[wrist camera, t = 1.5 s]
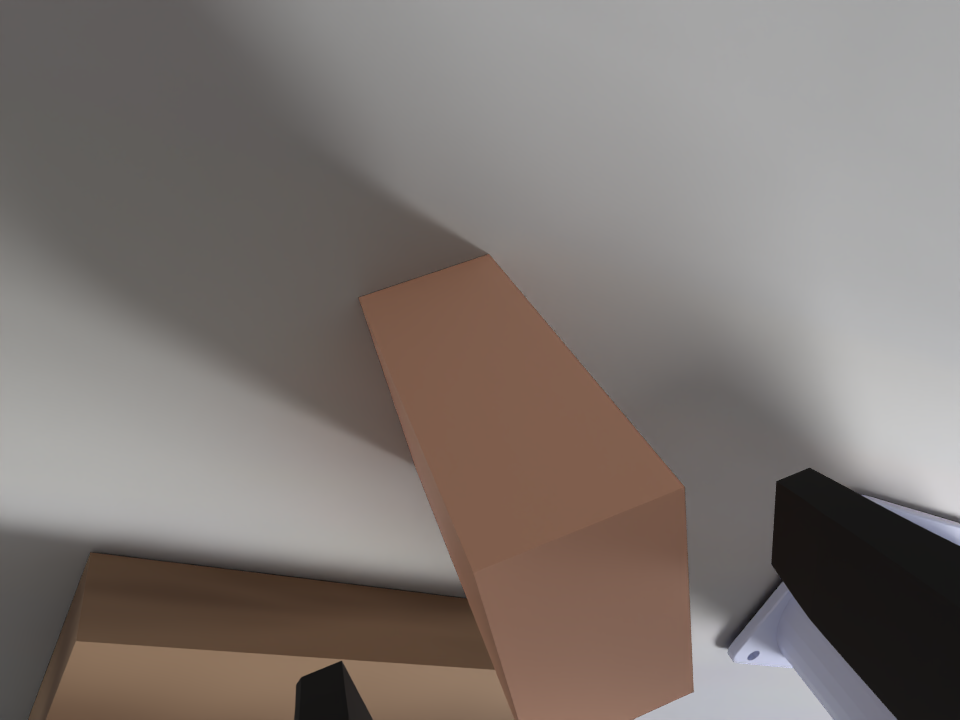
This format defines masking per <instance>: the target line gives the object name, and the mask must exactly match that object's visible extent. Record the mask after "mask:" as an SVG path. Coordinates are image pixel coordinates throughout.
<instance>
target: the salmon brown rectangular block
mask: <svg viewBox="0 0 960 720" xmlns="http://www.w3.org/2000/svg"><path fill="white" fill-rule="evenodd" d="M359 301H360V304H361V306H362V309H363V312H364V315H365V318H366V321H367V324H368V327H369V330H370V333H371V336H372V339H373V342H374V345H375V348H376V351H377V354H378V357H379V360H380V363H381V366H382V369H383V372H384V375H385V378H386V381H387V384H388V387H389V390H390V393H391V396H392V399H393V402H394V405H395V408H396V411H397V414H398V417H399V420H400V423H401V426H402V429H403V432H404V435H405V438H406V441H407V444H408V447H409V450H410V453H411V456H412V459H413V462H414V465H415V467H416V470H417V473H418V475H419V478H420V480H421V483H422V485H423V488H424V490H425V493H426V495H427V498H428V501H429V503H430V506H431V508H432V511H433V513H434V516H435V518H436V521H437V523H438V526H439V529H440V531H441V534H442V536H443V539H444V541H445V544H446V546H447V549H448V551H449V554H450V557H451V559H452V562H453V564H454V567H455V569H456V572H457V574H458V577H459V579H460V582H461V585H462V587H463V590H464V592H465V595H466V597H467V600H468V602H469V605H470V607H471V610H472V613H473V615H474V618H475V620H476V623H477V625H478V628H479V630H480V633H481V635H482V638H483V641H484V643H485V646H486V648H487V651H488V653H489V656H490V658H491V661H492V663H493V666H494V669H495V671H496V674H497V676H498V679H499V681H500V684H501V686H502V689H503V691H504V694H505V697H506V699H507V702H508V704H509V707H510V709H511V712H512V714H513V717H514V719H515V720H633V719H635V718H637V717H639V716H642V715H644V714H646V713H648V712H650V711H653V710H655V709H657V708H659V707H661V706H664V705H666V704H668V703H670V702H672V701H675V700H677V699H679V698H681V697H683V696H686V695H688V694H690V693H692V692H694V689H693V666H692V643H691V620H690V597H689V574H688V552H687V529H686V506H685V487H684V486H683V484H682V483H681V482H680V481H679V480H678V479H677V477H676V476H675V475H674V474H673V473H672V471H671V470H670V469H669V468H668V467H667V465H666V464H665V463H664V462H663V461H662V459H661V458H660V457H659V456H658V455H657V454H656V452H655V451H654V450H653V449H652V448H651V446H650V445H649V444H648V443H647V442H646V440H645V439H644V438H643V437H642V436H641V434H640V433H639V432H638V431H637V430H636V429H635V427H634V426H633V425H632V424H631V423H630V421H629V420H628V419H627V418H626V417H625V415H624V414H623V413H622V412H621V411H620V409H619V408H618V407H617V406H616V405H615V404H614V402H613V401H612V400H611V399H610V398H609V396H608V395H607V394H606V393H605V392H604V390H603V389H602V388H601V387H600V386H599V384H598V383H597V382H596V381H595V380H594V379H593V377H592V376H591V375H590V374H589V373H588V371H587V370H586V369H585V368H584V367H583V365H582V364H581V363H580V362H579V361H578V360H577V358H576V357H575V356H574V355H573V354H572V352H571V351H570V350H569V349H568V348H567V346H566V345H565V344H564V343H563V342H562V340H561V339H560V338H559V337H558V336H557V335H556V333H555V332H554V331H553V330H552V329H551V327H550V326H549V325H548V324H547V323H546V321H545V320H544V319H543V318H542V317H541V315H540V314H539V313H538V312H537V311H536V310H535V308H534V307H533V306H532V305H531V304H530V302H529V301H528V300H527V299H526V298H525V296H524V295H523V294H522V293H521V292H520V290H519V289H518V288H517V287H516V286H515V285H514V283H513V282H512V281H511V280H510V279H509V277H508V276H507V275H506V274H505V273H504V271H503V270H502V269H501V268H500V267H499V265H498V264H497V263H496V262H495V261H494V260H493V258H492V257H491V256H490V255H489V254H488V255H485V256H482V257H479V258H476V259H473V260H470V261H467V262H464V263H461V264H458V265H455V266H452V267H449V268H446V269H443V270H440V271H437V272H434V273H431V274H428V275H425V276H422V277H419V278H416V279H413V280H410V281H407V282H404V283H401V284H398V285H395V286H392V287H389V288H386V289H383V290H380V291H377V292H374V293H371V294H368V295H365V296H362V297H359Z"/></svg>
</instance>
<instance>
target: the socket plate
mask: <svg viewBox="0 0 960 720" xmlns="http://www.w3.org/2000/svg"><path fill="white" fill-rule="evenodd" d="M339 661H342V662H343V664H344V665H345V667H346V669H347V671H348V673H349V675H350V677H351V679H352V681H353V683H354V684H355V686H356V688H357V690H358V692H359V694H360V696H361V698H362V700H363V702H364V704H365V705H366V707H367V709H368V711H369V713H370V715H371V717H372V719H373V720H515V719H514V717H513V714H512V712H511V709H510V707H509V704H508V702H507V699H506V697H505V694H504V691H503V689H502V686H501V684H500V681H499V679H498V676H497V674H496V671H495V669H494V666H493V663H492V661H491V658H490V656H489V653H488V651H487V648H486V646H485V643H484V641H483V638H482V635H481V633H480V630H479V628H478V625H477V623H476V620H475V618H474V615H473V613H472V610H471V607H470V605H469V602H468V600H467V599H466V598H458V597H450V596H441V595H433V594H425V593H417V592H409V591H401V590H393V589H384V588H376V587H368V586H360V585H352V584H344V583H336V582H327V581H319V580H311V579H303V578H295V577H287V576H279V575H270V574H262V573H254V572H246V571H238V570H230V569H222V568H213V567H205V566H197V565H189V564H181V563H173V562H165V561H156V560H148V559H140V558H132V557H124V556H116V555H108V554H99V553H91V552H90V555H89V557H88V560H87V563H86V566H85V568H84V571H83V574H82V576H81V579H80V582H79V584H78V587H77V590H76V592H75V595H74V598H73V600H72V603H71V606H70V608H69V611H68V614H67V617H66V619H65V622H64V625H63V627H62V630H61V633H60V635H59V638H58V641H57V643H56V646H55V649H54V651H53V654H52V657H51V659H50V662H49V665H48V668H47V670H46V673H45V676H44V678H43V681H42V684H41V686H40V689H39V692H38V694H37V697H36V700H35V702H34V705H33V708H32V710H31V713H30V716H29V718H28V720H294V714H295V697H296V684H297V683H298V681H299V680H300V678H301V677H303V676H305V675H308V674H310V673H312V672H315V671H317V670H320V669H322V668H325V667H327V666H329V665H332V664H334V663H337V662H339Z"/></svg>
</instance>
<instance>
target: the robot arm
mask: <svg viewBox="0 0 960 720" xmlns="http://www.w3.org/2000/svg"><path fill="white" fill-rule="evenodd" d="M771 564H772V566H773V567H774V569H775V570H776V572H777V573H778V575H779V576H780V578H781V579H782V580H783V582H782V583H781V584H780V585H779V586H778V588H777V589H776V590H775V591H774V593H773V594H772V595H771V596H770V597H769V599H768V600H767V601H766V602H765V604H764V605H763V606H762V607H761V608H760V610H759V611H758V612H757V613H756V614H755V616H754V617H753V618H752V619H751V621H750V622H749V623H748V624H747V625H746V627H745V628H744V629H743V630H742V632H741V633H740V634H739V635H738V636H737V638H736V639H735V640H734V641H733V643H732V644H731V645H730V647H729V648H728V655H729V656H730V658H731V659H732V661H733V662H735V663H742V664H753V665H764V666H775V667H786V668H794V669H795V671H796V672H797V673H798V675H799V676H800V677H801V678H802V680H803V681H804V682H805V684H806V685H807V686H808V687H809V689H810V690H811V691H812V693H813V694H814V695H815V696H816V698H817V699H818V700H819V701H820V703H821V704H822V705H823V707H824V708H825V709H826V710H827V712H828V713H829V714H830V716H831V717H832V718H833V719H834V720H960V523H958V522H954V521H951V520H948V519H944V518H941V517H937V516H934V515H931V514H927V513H924V512H920V511H917V510H914V509H910V508H907V507H904V506H900V505H897V504H893V503H890V502H887V501H883V500H880V499H876V498H873V497H870V496H866V495H860V494H858V493H856V492H854V491H852V490H851V489H849V488H847V487H845V486H843V485H841V484H839V483H837V482H836V481H834V480H832V479H830V478H828V477H826V476H824V475H822V474H820V473H819V472H817V471H815V470H813V469H811V468H808V469H806V470H803V471H801V472H798V473H796V474H793V475H791V476H789V477H786V478H784V479H781V480H779V481H776V497H775V514H774V530H773V547H772V563H771ZM294 720H373V719H372V717H371V715H370V713H369V711H368V709H367V707H366V705H365V704H364V702H363V700H362V698H361V696H360V694H359V692H358V690H357V688H356V686H355V684H354V683H353V681H352V679H351V677H350V675H349V673H348V671H347V669H346V667H345V665H344V664H343V662H342V661H339V662H337V663H334V664H332V665H329V666H327V667H325V668H322V669H320V670H317V671H315V672H312V673H310V674H308V675H305V676H303V677H301V678H300V680H299V681H298V683H297V684H296V697H295V714H294Z"/></svg>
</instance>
